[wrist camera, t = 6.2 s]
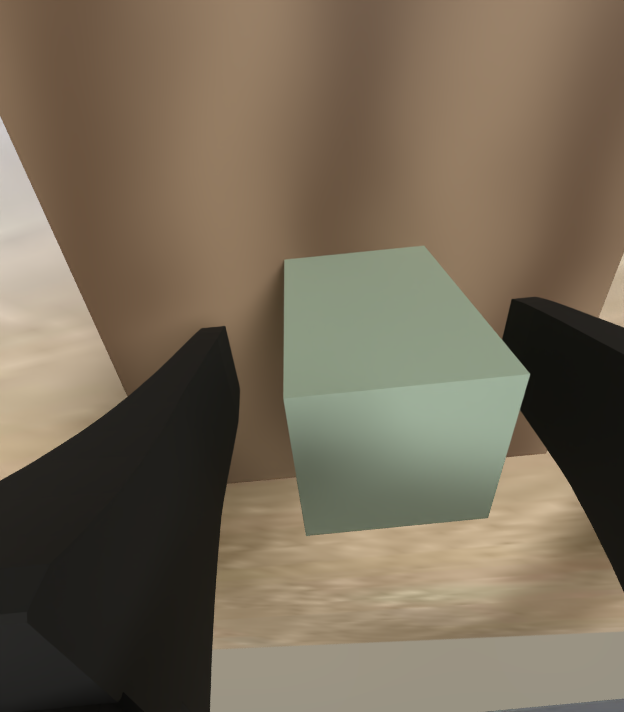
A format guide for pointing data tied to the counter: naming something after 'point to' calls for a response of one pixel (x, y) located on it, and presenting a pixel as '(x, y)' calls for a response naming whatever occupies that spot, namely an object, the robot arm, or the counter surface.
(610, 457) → the robot arm
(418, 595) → the counter surface
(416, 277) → the block
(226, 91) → the base board
